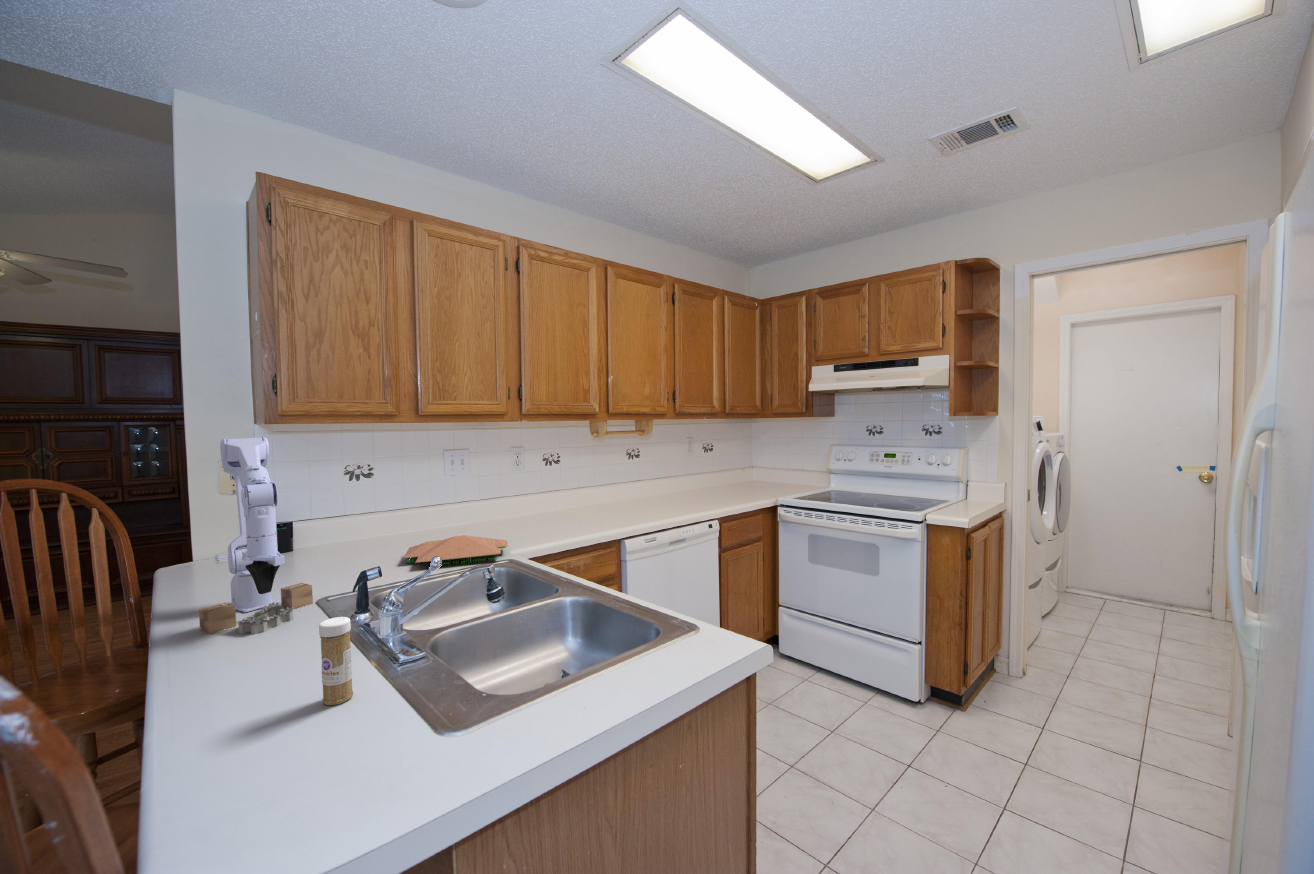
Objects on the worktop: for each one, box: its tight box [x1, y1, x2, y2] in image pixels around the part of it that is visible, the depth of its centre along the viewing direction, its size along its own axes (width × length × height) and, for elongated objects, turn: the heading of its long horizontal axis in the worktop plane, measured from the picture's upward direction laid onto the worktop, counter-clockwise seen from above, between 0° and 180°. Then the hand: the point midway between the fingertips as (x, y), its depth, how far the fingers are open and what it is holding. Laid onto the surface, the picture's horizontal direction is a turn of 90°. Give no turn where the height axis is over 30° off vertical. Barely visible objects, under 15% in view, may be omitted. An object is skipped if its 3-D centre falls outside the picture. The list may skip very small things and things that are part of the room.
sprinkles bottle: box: [318, 616, 354, 706], centre depth 90 cm, size 5×5×14 cm
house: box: [403, 535, 509, 567], centre depth 183 cm, size 23×33×8 cm
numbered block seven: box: [198, 602, 237, 635], centre depth 125 cm, size 5×5×5 cm
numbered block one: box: [280, 582, 314, 609], centre depth 139 cm, size 5×5×5 cm
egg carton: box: [234, 602, 298, 635], centre depth 126 cm, size 11×8×4 cm
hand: (264, 592), depth 126 cm, fingers closed
